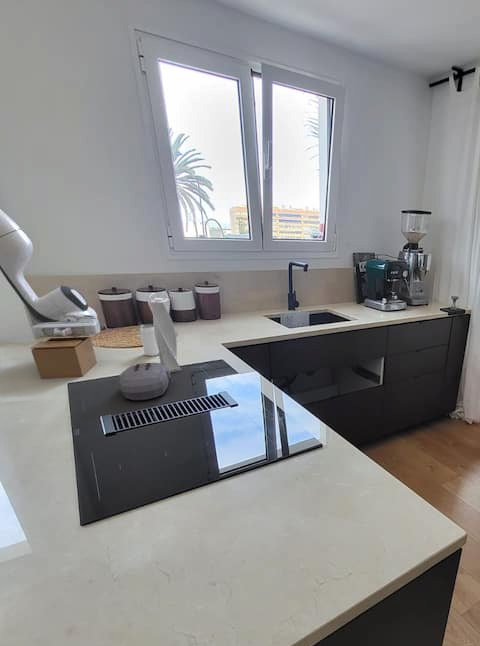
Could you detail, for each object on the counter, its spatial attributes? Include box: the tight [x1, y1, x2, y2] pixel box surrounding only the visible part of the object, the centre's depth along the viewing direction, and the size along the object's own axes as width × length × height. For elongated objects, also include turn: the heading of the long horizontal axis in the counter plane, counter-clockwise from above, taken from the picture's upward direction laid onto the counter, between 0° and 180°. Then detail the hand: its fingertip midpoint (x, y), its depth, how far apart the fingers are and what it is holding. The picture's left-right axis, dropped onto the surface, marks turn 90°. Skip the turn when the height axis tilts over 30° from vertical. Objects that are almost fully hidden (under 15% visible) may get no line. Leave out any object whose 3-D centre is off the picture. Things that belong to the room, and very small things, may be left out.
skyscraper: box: [147, 292, 183, 374], centre depth 143 cm, size 8×8×28 cm
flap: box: [39, 334, 91, 338], centre depth 143 cm, size 7×13×1 cm, turn 104°
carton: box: [30, 336, 98, 380], centre depth 142 cm, size 15×13×11 cm
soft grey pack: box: [118, 362, 172, 401], centre depth 128 cm, size 15×8×20 cm
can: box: [139, 323, 159, 357], centre depth 162 cm, size 6×6×12 cm
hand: (58, 334), depth 138 cm, fingers closed
